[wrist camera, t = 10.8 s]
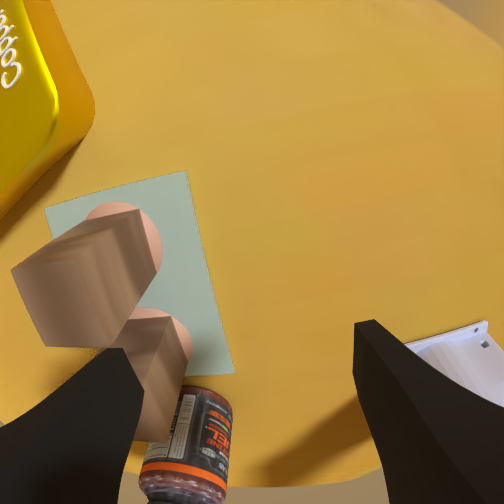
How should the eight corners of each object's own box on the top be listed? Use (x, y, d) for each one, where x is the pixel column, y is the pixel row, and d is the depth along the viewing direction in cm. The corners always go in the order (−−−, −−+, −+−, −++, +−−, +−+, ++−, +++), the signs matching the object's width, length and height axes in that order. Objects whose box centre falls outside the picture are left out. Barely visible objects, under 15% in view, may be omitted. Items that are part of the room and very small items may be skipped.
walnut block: (139, 208, 16) (74, 258, 10) (156, 273, 18) (110, 347, 11) (83, 221, 16) (10, 270, 10) (102, 280, 18) (45, 346, 11)
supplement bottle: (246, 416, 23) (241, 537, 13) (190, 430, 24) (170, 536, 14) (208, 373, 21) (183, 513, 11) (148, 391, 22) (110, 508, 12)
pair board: (186, 170, 16) (183, 171, 15) (234, 369, 21) (234, 374, 21) (47, 207, 17) (43, 209, 16) (115, 373, 22) (113, 377, 21)
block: (171, 315, 19) (137, 397, 12) (188, 362, 20) (167, 443, 14) (118, 320, 19) (73, 392, 13) (138, 363, 21) (107, 437, 14)
